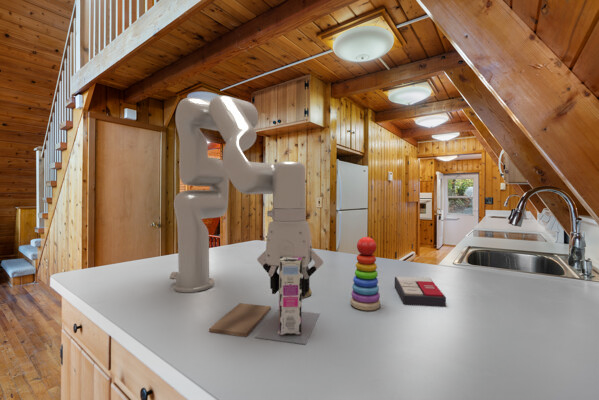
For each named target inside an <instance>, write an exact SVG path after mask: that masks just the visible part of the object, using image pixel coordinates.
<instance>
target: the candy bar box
mask: <svg viewBox="0 0 599 400" xmlns="http://www.w3.org/2000/svg"><path fill="white" fill-rule="evenodd" d="M278 274H279V290H278V309H279V325H280V335H301V312H302V308H303V306H302V303H303V302H302V299H303V298H302V278H303V275H302V259H301V258H296V257H280V262H279V268H278Z"/></svg>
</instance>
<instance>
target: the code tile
mask: <svg viewBox="0 0 599 400" xmlns="http://www.w3.org/2000/svg"><path fill="white" fill-rule="evenodd" d="M319 316H320V313H319V312H307V311H301V335H280V325H279V308H277V310H276V312H275V313H274V314H273V315H272V316H271V317H270V318H269V320H268V321H267V322H266V324H265V325H264V326H263V327H262V328H261V329H260V331H259V332H258V333H257V334H256V335H255V337H254V338H255V339H259V340H267V341H274V342H283V343H290V344H297V345H306V344H307V342H308V340H309V338H310V336H311V334H312V332H313V329H314V327H315V325H316V322H317V321H318V320H319V319H318V318H319Z"/></svg>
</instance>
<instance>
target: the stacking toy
mask: <svg viewBox="0 0 599 400" xmlns="http://www.w3.org/2000/svg"><path fill="white" fill-rule="evenodd" d="M356 248H357V252H359V254H357V256H356V260H357V262H356V263H355V267H356V269H355V270H354V277H353V279H352V282H353V284H352V287H351V289H352V291H351V298H350V301H349V302H350V304H351V306H353V308H355V309H358V310H361V311H367V312H368V311H375V310H377V309H379V308H380V307H381V300H380V296H381V295H380V293H379V291H380V289H379V287H380V286H379V285H378V284H379V279H378V278H377V277H378V271H377V269H378V265H377V263H376V262H377V261H376V260H377V257H376V256H375V255H374V253H375V252H376V250H377V243H376V241H375V240H374V239H373V238H372V237H370V236H365V237H361V238H360V239H359V240H358V241H357V244H356Z"/></svg>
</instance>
